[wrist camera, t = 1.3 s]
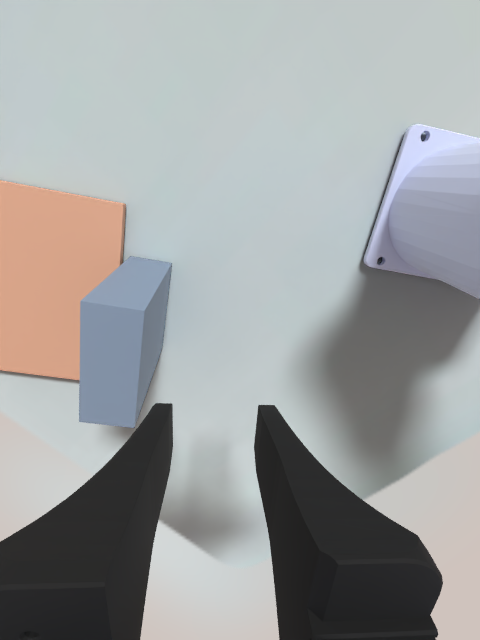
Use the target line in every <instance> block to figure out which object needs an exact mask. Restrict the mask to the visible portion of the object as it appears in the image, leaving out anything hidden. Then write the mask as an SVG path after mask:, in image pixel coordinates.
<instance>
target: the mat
mask: <svg viewBox="0 0 480 640" xmlns="http://www.w3.org/2000/svg"><path fill="white" fill-rule="evenodd" d="M125 211H126V204H124V203H118V202H113V201H108V200H102V199H97V198H92V197H86V196H81V195H76V194H70V193H65V192H60V191H54V190H49V189H44V188H38V187H33V186H28V185H23V184H17V183H12V182H7V181H1V180H0V370H3V371H11V372H19V373H27V374H34V375H42V376H50V377H58V378H66V379H74V380H80V301H81V300H82V299H83V298H84V297H85V296H86V295H88V294H89V293H90V292H91V291H92V290H93V289H94V288H96V287H97V286H98V285H99V284H100V283H101V282H102V281H103V280H105V279H106V278H107V277H108V276H109V275H110V274H111V273H112V272H114V271H115V270H116V269H117V268H118V267H119V266H120V265H121V264H123V246H124V229H125Z"/></svg>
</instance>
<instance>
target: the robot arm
mask: <svg viewBox="0 0 480 640" xmlns="http://www.w3.org/2000/svg"><path fill="white" fill-rule="evenodd" d="M422 132H425V134H426V139H425V140H424V141H421V138H420V137H421V134H422ZM380 257H382V258H383V261H382V262H381V263H380V264H377V260H378V258H380ZM364 263H365V264H366V265H367V266H369V267H371V268H377V269H382V270H388V271H393V272H399V273H404V274H410V275H415V276H421V277H426V278H432V279H437V280H441V281H443V282H445V283H447V284H449V285H451V286H453V287H455V288H457V289H459V290H461V291H463V292H465V293H467V294H469V295H472V296H474V297H476V298H478V299H480V138H476V137H472V136H468V135H464V134H460V133H455V132H451V131H447V130H443V129H439V128H434V127H430V126H426V125H422V124H415V125H412V126H410V127H409V128H408V129H407V130H406V132H405V135H404V138H403V141H402V144H401V147H400V150H399V153H398V156H397V159H396V162H395V165H394V168H393V171H392V174H391V177H390V180H389V183H388V186H387V189H386V192H385V195H384V198H383V201H382V204H381V207H380V210H379V213H378V216H377V220H376V223H375V226H374V229H373V232H372V235H371V238H370V241H369V244H368V247H367V250H366V253H365V256H364ZM172 448H173V421H172V404H163V403H156V404H155V405H154V406H153V407H152V408H151V410H150V412H149V413H148V415H147V416H146V417H145V419H144V420H143V422H142V423H141V424H140V426H139V427H138V428H137V429H136V431H135V432H134V433H133V434H132V436H131V437H130V438H129V440H128V441H127V442H126V443H125V444H124V445H123V446H122V448H121V449H120V450H119V451H118V452H117V453H116V454H115V455H114V456H113V457H112V459H111V460H110V461H109V462H108V463H107V464H106V465H105V466H104V467H103V468H102V469H101V470H99V471H98V472H97V473H96V474H95V475H94V476H93V477H92V478H91V479H90V480H88V481H87V482H86V483H85V484H84V485H83V486H82V487H80V488H79V489H78V490H77V491H76V492H74V493H73V494H72V495H71V496H69V497H68V498H67V499H66V500H64V501H63V502H61V503H60V504H59V505H57V506H56V507H54V508H53V509H52V510H50V511H49V512H48V513H46V514H45V515H43V516H42V517H40V518H39V519H37V520H36V521H34V522H33V523H31V524H29V525H28V526H26V527H24V528H23V529H21V530H19V531H18V532H16V533H14V534H13V535H11V536H10V537H8V538H6V539H4V540H3V541H1V542H0V640H140V635H141V627H142V620H143V612H144V605H145V597H146V589H147V583H148V576H149V569H150V562H151V555H152V548H153V542H154V537H155V532H156V527H157V523H158V519H159V515H160V510H161V506H162V502H163V498H164V494H165V489H166V485H167V481H168V477H169V472H170V465H171V457H172ZM254 451H255V463H256V473H257V478H258V483H259V488H260V493H261V498H262V503H263V508H264V512H265V517H266V522H267V527H268V533H269V539H270V547H271V556H272V564H273V574H274V584H275V595H276V605H277V616H278V627H279V638H280V640H436V639H435V637H437V636H438V632H437V628H436V626H435V624H434V622H433V620H432V618H431V616H430V614H431V612H432V610H433V608H434V606H435V604H436V601H437V599H438V597H439V595H440V592H441V588H442V584H443V582H442V575H441V573H440V571H439V570H438V568H437V566H436V564H435V563H434V561H433V559H432V557H431V555H430V554H429V552H428V550H427V549H426V548H425V546H424V545H423V543H422V542H421V540H420V539H419V537H418V536H417V535H416V534H414V533H413V532H411V531H409V530H408V529H406V528H404V527H402V526H401V525H399V524H397V523H396V522H394V521H392V520H391V519H389V518H388V517H386V516H384V515H383V514H382V513H380V512H378V511H377V510H375V509H374V508H373V507H371V506H370V505H368V504H367V503H366V502H364V501H363V500H362V499H360V498H359V497H358V496H356V495H355V494H354V493H353V492H351V491H350V490H349V489H348V488H346V487H345V486H344V485H343V484H342V483H340V482H339V481H338V480H337V479H336V478H335V477H334V476H333V475H332V474H331V473H329V472H328V471H327V470H326V469H325V468H324V467H323V466H322V465H321V464H320V463H319V462H318V461H317V459H316V458H315V457H314V456H313V455H312V454H311V453H310V452H309V451H308V449H307V448H306V447H305V446H304V445H303V443H302V442H301V441H300V440H299V438H298V437H297V436H296V435H295V433H294V432H293V431H292V429H291V428H290V427H289V425H288V424H287V423H286V421H285V420H284V418H283V417H282V415H281V414H280V412H279V411H278V409H277V408H276V407H275V406H274V405H259V406H258V415H257V424H256V434H255V443H254Z"/></svg>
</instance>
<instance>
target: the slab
mask: <svg viewBox="0 0 480 640" xmlns="http://www.w3.org/2000/svg"><path fill="white" fill-rule="evenodd" d="M171 267H172V263H167V262H162V261H156V260H150V259H144V258H138V257H132V256H130V257H129V258H128V259H127V260H126V261H125V262H124V263H123V264H121V265H120V266H119V267H118V268H117V269H116V270H115V271H114V272H112V273H111V274H110V275H109V276H108V277H107V278H106V279H105V280H103V281H102V282H101V283H100V284H99V285H98V286H97V287H96V288H94V289H93V290H92V291H91V292H90V293H89V294H88V295H86V296H85V297H84V298H83V299H82V300H81V301H80V388H79V422H86V423H95V424H103V425H112V426H121V427H129V428H135V425H136V422H137V419H138V416H139V413H140V410H141V408H142V405H143V402H144V399H145V396H146V393H147V390H148V388H149V385H150V382H151V379H152V376H153V373H154V370H155V368H156V365H157V362H158V359H159V356H160V353H161V350H162V346H163V337H164V329H165V320H166V311H167V302H168V293H169V285H170V276H171Z"/></svg>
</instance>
